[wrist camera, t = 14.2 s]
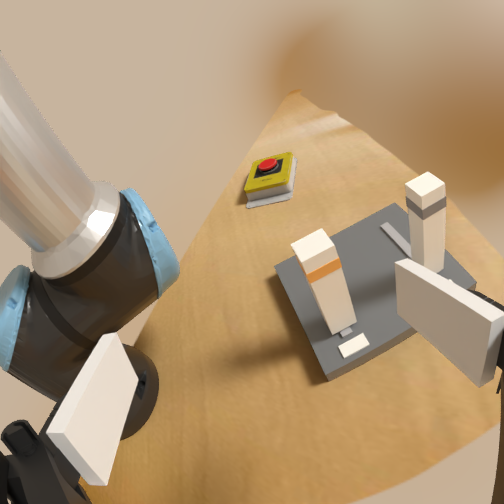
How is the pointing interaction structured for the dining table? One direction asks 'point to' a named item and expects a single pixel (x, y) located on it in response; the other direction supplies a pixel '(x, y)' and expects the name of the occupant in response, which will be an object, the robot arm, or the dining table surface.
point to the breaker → (427, 220)
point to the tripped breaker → (325, 279)
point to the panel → (363, 291)
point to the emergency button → (271, 180)
